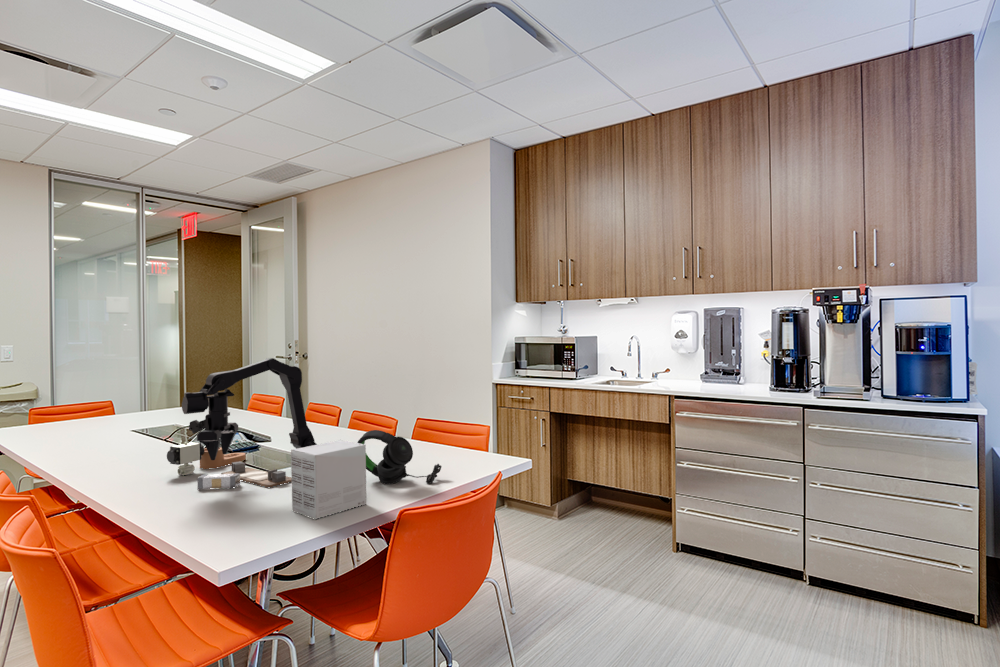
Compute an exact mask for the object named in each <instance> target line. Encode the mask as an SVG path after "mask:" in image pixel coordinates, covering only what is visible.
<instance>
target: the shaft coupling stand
mask: <svg viewBox="0 0 1000 667" xmlns="http://www.w3.org/2000/svg"><path fill="white" fill-rule="evenodd" d="M235 473H240V480H243V481H246V482H245V483H247V482H250V483H249V484H251V483H254V484H253V485H255V484H257V485H256V486H258V485H261V486H260V487H262V486H265V487H264V488H266V487H272V488H274V487H273V486H276V487H278V486H277V485H279V486H281V485H280V484H283V485H285V484H284V483H287V484H289V483H288V482H291V483H292V476H291V477H290V476H287V474H286V471H284V470H278V469H277V468H276V469H275V468H274V469H270V470H267V471H265V470H261V469H257V468H252V467H248V466H246V463H245V462H241V461H239V462H232V465H231V470H229V471H224V472H221V473H220V474H235ZM243 481H242V482H243Z"/></svg>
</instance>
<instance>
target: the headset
mask: <svg viewBox="0 0 1000 667" xmlns="http://www.w3.org/2000/svg"><path fill="white" fill-rule="evenodd" d="M367 440H368V441H369V440H377V441H381V442H383V443H384V444H386V445H385V446H384V447H383V449H382V457H383V459H381V460H380V462H379V463H378V464H377V463H375V462H374V460H373V461H372V459H371V458H370V457H369V456H368V454H367V453H366V471H368V472H370V473H371V474H372V475H374V476H375V477H378V479H379V482H380V483H381V484H384V483H385V484H384V485H391V484H396V483H398V482H400V481H401V480H402V479H405V478H406V477H412V478H425V477H426V481H425V483H426V484H432V483H433V482H434V481H435V479H436V478H437V477H438V475H437V474H439V473H440V472H441V470H442V465H440V464H439V463H437V464H434V466H433V468H432V472H431V473H430V474H427V475H422V476H415V475H412V474H408V473H407V469H406V468H407V466H406V464H407V465H408V463H410V462H411V460H412V459H413V455H414V452H413V446H412V445H411V443H410V442H409V441H408V440H407V439H406V438H404V437H402V436H395V435H393V434H391V433H389V432H386V431H383V430H380V429H379V430H378V429H374V430H373V429H372V430H369V431H366V432H365V433H364V434H363V435H362V436H361V437H360V438H359V439H358V441H357V442H356V443H360V444H364V445H366V441H367Z"/></svg>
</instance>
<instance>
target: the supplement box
mask: <svg viewBox="0 0 1000 667" xmlns="http://www.w3.org/2000/svg"><path fill="white" fill-rule="evenodd" d="M316 444H317V443H316ZM366 454H367V448H366V444H360V443H357V442H355V441H349V440H345V439H337V440H333V441H327V442H324V443H319V444H317V445H313V446H308V447H303V448H298V449H296V448H293V449H291V450H290V464H291V465H290V468H291V469H290V470H291V471H290V472H291V478H292V482H291V507H292V508H291V509H292V510H293V511H295V512H294V513H296V512H298V513H297V514H299V513H300V514H299V515H301V514H303V515H302V516H304V515H306V516H309V517H311V518H310V519H312V518H314V519H317V518H319V519H321V518H320V517H323V516H326V517H328V516H327V515H329V516H331V515H330V514H333V515H335V514H334V513H336V514H338V513H337V512H339V513H341V512H340V511H343V512H345V511H344V510H346V511H348V510H347V509H349V510H352V509H351V508H353V509H355V508H354V507H356V508H359V507H362V506H365V504H366V505H367V469H366ZM361 505H362V506H361ZM358 506H359V507H358ZM292 510H291V511H292ZM293 511H292V512H293ZM306 516H305V517H306ZM309 517H308V518H309ZM323 518H324V517H323ZM314 519H313V520H314ZM317 520H318V519H317Z"/></svg>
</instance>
